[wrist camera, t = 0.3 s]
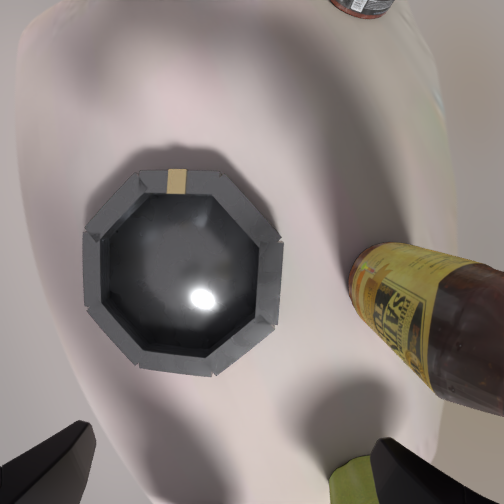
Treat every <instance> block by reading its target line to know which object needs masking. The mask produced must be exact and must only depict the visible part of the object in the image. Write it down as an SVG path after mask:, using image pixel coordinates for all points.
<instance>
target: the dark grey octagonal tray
mask: <svg viewBox="0 0 504 504" xmlns="http://www.w3.org/2000/svg"><path fill="white" fill-rule="evenodd" d="M85 229H86V230H87V232H83V287H84V305H85V306H87V307H89V308H88V310H87V312H88V313H89V315H90V316H91V317H92V318H93V319H94V321H95V322H96V323H97V324H98V325H99V326H100V328H101V329H102V330H103V331H104V332H105V333H106V335H107V336H108V337H109V338H110V339H111V340H112V341H113V342H114V344H115V345H116V346H117V347H118V348H119V349H120V350H121V351H122V352H123V353H124V354H125V356H126V357H127V358H128V359H129V360H130V361H131V362H132V363H133V364H134V365H136V364H138V363H139V368H143V369H149V370H156V371H163V372H170V373H178V374H186V375H195V376H204V377H212V374H213V373H214V374H215V375H216V376H217V375H218V374H219V373H221V372H222V371H223V370H225V369H226V368H227V367H229V366H230V365H231V364H233V363H234V362H235V361H236V360H238V359H239V358H240V357H242V356H243V355H244V354H245V353H247V352H248V351H249V350H250V349H252V348H253V347H254V346H255V345H257V344H258V343H259V342H260V341H262V340H263V339H264V338H265V337H267V336H268V335H269V334H270V333H272V332H273V331H274V330H275V326H274V325H278V315H279V302H280V289H281V276H282V262H283V247H284V243H283V242H282V241H278V240H279V239H280V238H282V237H281V236H280V235H279V233H278V232H277V231H276V230H275V229H274V228H273V227H272V225H271V224H270V223H269V222H268V221H267V220H266V219H265V218H264V216H263V215H262V214H261V213H260V212H259V211H258V210H257V209H256V208H255V206H254V205H253V204H252V203H251V202H250V201H249V200H248V199H247V198H246V196H245V195H244V194H243V193H242V192H241V191H240V190H239V189H238V188H237V187H236V185H235V184H234V183H233V182H232V181H231V180H230V179H229V178H228V177H227V176H226V174H224V175H222V174H221V173H220V171H195V170H187V169H168V170H140V173H139V174H138V173H134V174H133V175H132V176H131V177H130V178H129V179H128V180H127V181H126V182H125V183H124V184H123V185H122V186H121V187H120V188H119V190H118V191H117V192H116V193H115V194H114V195H113V196H112V197H111V198H110V199H109V200H108V201H107V203H106V204H105V205H104V206H103V207H102V208H101V209H100V210H99V211H98V213H97V214H96V215H95V216H94V217H93V218H92V219H91V221H90V222H89V223H88V224H87V225H86V226H85Z"/></svg>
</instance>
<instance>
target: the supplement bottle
mask: <svg viewBox="0 0 504 504" xmlns="http://www.w3.org/2000/svg"><path fill="white" fill-rule="evenodd" d="M331 2H332V3H333V4H334V5H335V6H336V7H337V8H339V9H340V10H342V11H343V12H345V13H347V14H350V15H352V16H355V17H358V18H363V19H375V18H379V17H381V16H383V15H384V14H385V13H386V12H387V10H388V9H389V8H390V6H391V5H392V3H393V2H394V0H331Z"/></svg>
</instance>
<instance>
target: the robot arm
mask: <svg viewBox="0 0 504 504" xmlns="http://www.w3.org/2000/svg"><path fill="white" fill-rule="evenodd" d="M95 448H96V438H95V435H94V432H93V428H92V425H91V424H90V423H88V422H85V421H81V420H78V421H76V422H74V423H73V424H71V425H69V426H68V427H66V428H65V429H63V430H61V431H60V432H58V433H56V434H55V435H53V436H52V437H50V438H48V439H47V440H45V441H43V442H42V443H40V444H38V445H37V446H35V447H33V448H32V449H30V450H29V451H26V452H25V453H23V454H21V455H20V456H18V457H16V458H14V459H13V460H11V461H9V462H7V463H6V464H4V465H2V467H1V466H0V504H79V503H80V501H81V498H82V495H83V492H84V490H85V487H86V484H87V481H88V476H89V472H90V468H91V463H92V460H93V456H94V452H95ZM370 463H371V468H372V473H373V478H374V484H375V489H376V494H377V498H378V501H379V504H499V503H496V502H494V501H492V500H490V499H488V498H486V497H483V496H481V495H479V494H478V493H476V492H474V491H473V490H471V489H469V488H468V487H466V486H464V485H462V484H461V483H459V482H458V481H456V480H454V479H453V478H451V477H450V476H448V475H446V474H445V473H443V472H442V471H440V470H438V469H437V468H435V467H434V466H432V465H431V464H429V463H428V462H426V461H425V460H423V459H422V458H420V457H419V456H417V455H416V454H414V453H413V452H411V451H410V450H409V449H407V448H406V447H404V446H403V445H401V444H400V443H398V442H397V441H395V440H394V439H393V438H391V437H386V438H380V439H379V440H377V442H376V444H375V446H374V448H373V450H372V452H371V455H370Z"/></svg>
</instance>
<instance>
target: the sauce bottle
mask: <svg viewBox="0 0 504 504" xmlns="http://www.w3.org/2000/svg"><path fill="white" fill-rule="evenodd" d="M349 296H350V298H351V301H352V304H353V306H354V308H355V309H356V311H357V313H358V315H359V316H360V318H361V319H362V320H363V321H364V322H365V323H366V324H367V325H368V326H369V327H370V328H371V329H372V330H373V331H374V332H375V333H376V334H377V335H378V336H379V337H380V338H381V339H382V340H383V341H384V342H385V343H386V344H387V345H388V346H389V347H390V348H391V349H392V350H393V351H394V352H395V353H396V354H397V355H398V356H399V357H400V358H401V359H402V360H403V361H404V363H405V364H406V365H408V366H409V367H410V368H411V369H412V370H413V371H414V372H415V373H416V374H417V375H418V376H419V378H420V379H421V380H422V381H423V382H424V383H425V384H426V385H427V386H428V387H429V388H430V389H431V390H432V391H433V392H434V393H435V394H436V395H437V396H438V397H439V398H441V399H444V400H447V401H450V402H453V403H457V404H460V405H463V406H466V407H470V408H473V409H477V410H480V411H483V412H487V413H491V414H494V415H498V416H502V417H504V272H502V271H499V270H495V269H493V268H492V267H490V266H488V265H486V264H483V263H479V262H475V261H472V260H468V259H464V258H460V257H456V256H452V255H449V254H445V253H441V252H437V251H433V250H429V249H425V248H421V247H418V246H413V245H409V244H405V243H394V242H386V243H381V244H376V245H374V246H371V247H370V248H368V249H366V250H365V251H363V252H362V253H361V254H360V255H359V257H358V258H357V259H356V260H355V262H354V265H353V266H352V269H351V271H350V274H349Z"/></svg>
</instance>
